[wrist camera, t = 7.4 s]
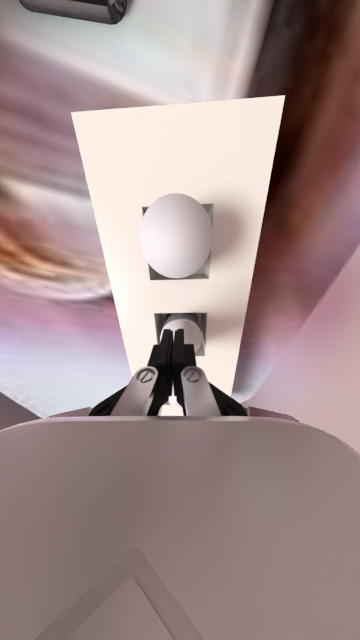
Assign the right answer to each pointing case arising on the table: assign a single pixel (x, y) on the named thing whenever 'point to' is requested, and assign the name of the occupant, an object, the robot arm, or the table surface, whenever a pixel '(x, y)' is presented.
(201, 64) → the table surface
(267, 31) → the table surface
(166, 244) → the knob
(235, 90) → the table surface
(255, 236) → the console
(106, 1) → the phone
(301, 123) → the table surface
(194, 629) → the robot arm
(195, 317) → the knob mid
